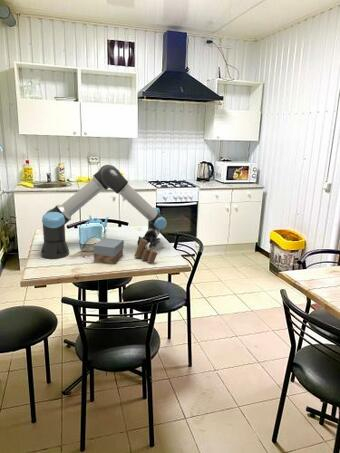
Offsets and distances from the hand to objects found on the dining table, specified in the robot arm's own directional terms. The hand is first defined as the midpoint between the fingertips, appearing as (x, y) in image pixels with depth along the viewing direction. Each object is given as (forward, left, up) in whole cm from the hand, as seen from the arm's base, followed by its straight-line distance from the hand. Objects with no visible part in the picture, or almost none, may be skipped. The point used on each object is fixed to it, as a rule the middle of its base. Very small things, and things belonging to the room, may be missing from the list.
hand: (143, 248), depth 193 cm
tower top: (-19, -4, -2) cm, 20 cm away
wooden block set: (0, 0, -6) cm, 6 cm away
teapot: (-43, +43, -7) cm, 61 cm away
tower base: (-19, -5, -7) cm, 21 cm away
